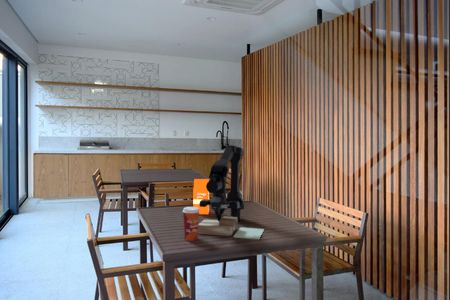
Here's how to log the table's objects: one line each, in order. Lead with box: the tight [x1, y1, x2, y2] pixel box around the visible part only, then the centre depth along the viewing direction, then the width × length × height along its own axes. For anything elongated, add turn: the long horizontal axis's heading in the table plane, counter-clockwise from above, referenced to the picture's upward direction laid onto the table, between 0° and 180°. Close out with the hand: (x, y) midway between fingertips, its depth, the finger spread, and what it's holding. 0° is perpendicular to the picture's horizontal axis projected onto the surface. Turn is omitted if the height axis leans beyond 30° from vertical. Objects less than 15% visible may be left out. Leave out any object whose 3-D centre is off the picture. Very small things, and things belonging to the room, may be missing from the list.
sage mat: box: [233, 227, 265, 240], centre depth 174 cm, size 16×12×1 cm
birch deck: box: [198, 218, 237, 237], centre depth 178 cm, size 12×16×4 cm
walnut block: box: [219, 215, 239, 227], centre depth 176 cm, size 9×7×2 cm
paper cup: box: [182, 206, 200, 242], centre depth 165 cm, size 8×8×14 cm
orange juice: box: [192, 178, 210, 215], centre depth 216 cm, size 8×9×20 cm
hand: (219, 221), depth 177 cm, fingers closed
